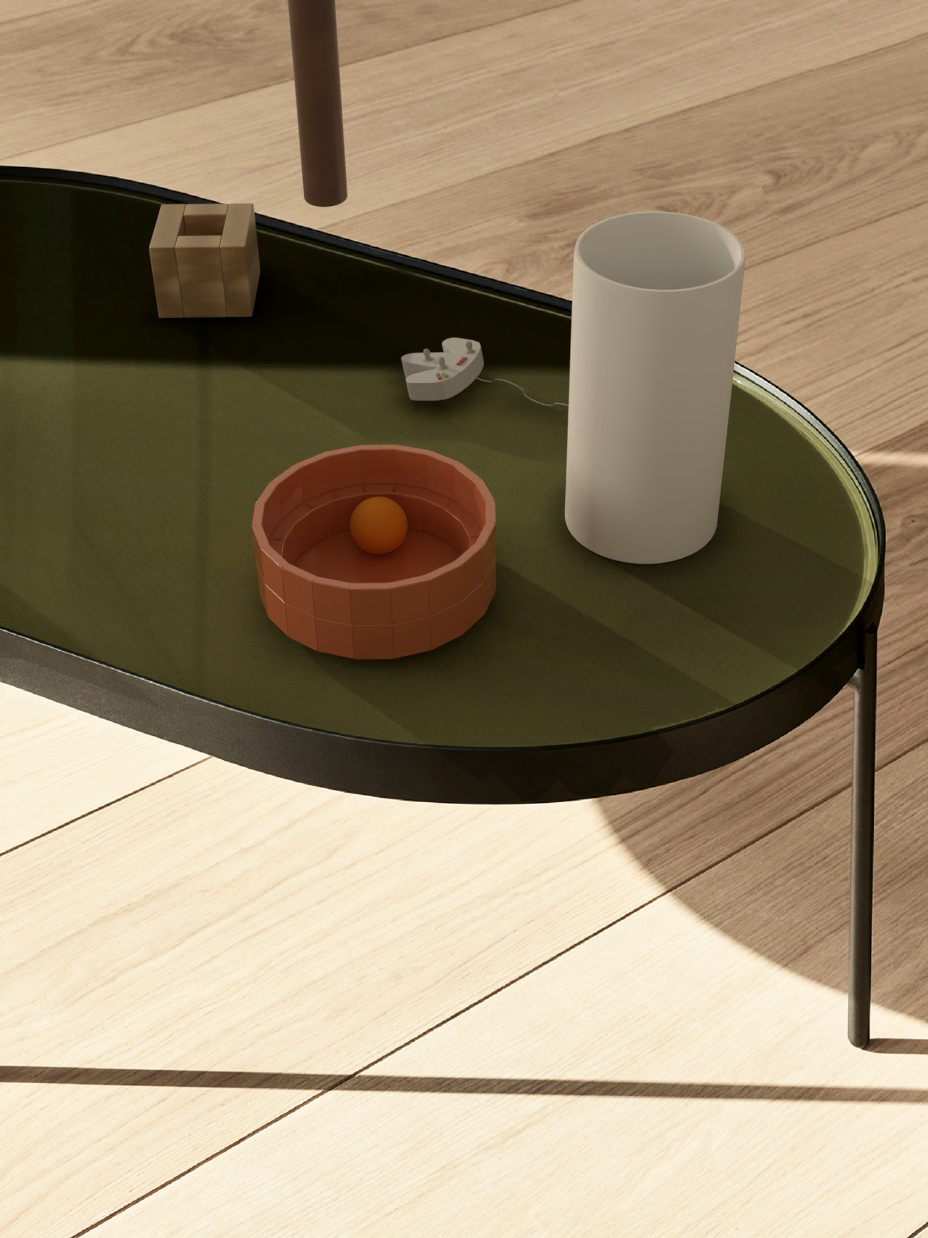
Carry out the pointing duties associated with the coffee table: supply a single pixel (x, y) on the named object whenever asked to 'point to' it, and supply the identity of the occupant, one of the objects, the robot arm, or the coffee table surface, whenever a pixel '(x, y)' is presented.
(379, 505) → the ball
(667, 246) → the cup
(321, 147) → the stick
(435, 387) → the game controller
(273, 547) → the bowl
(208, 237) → the holder
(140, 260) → the coffee table surface
